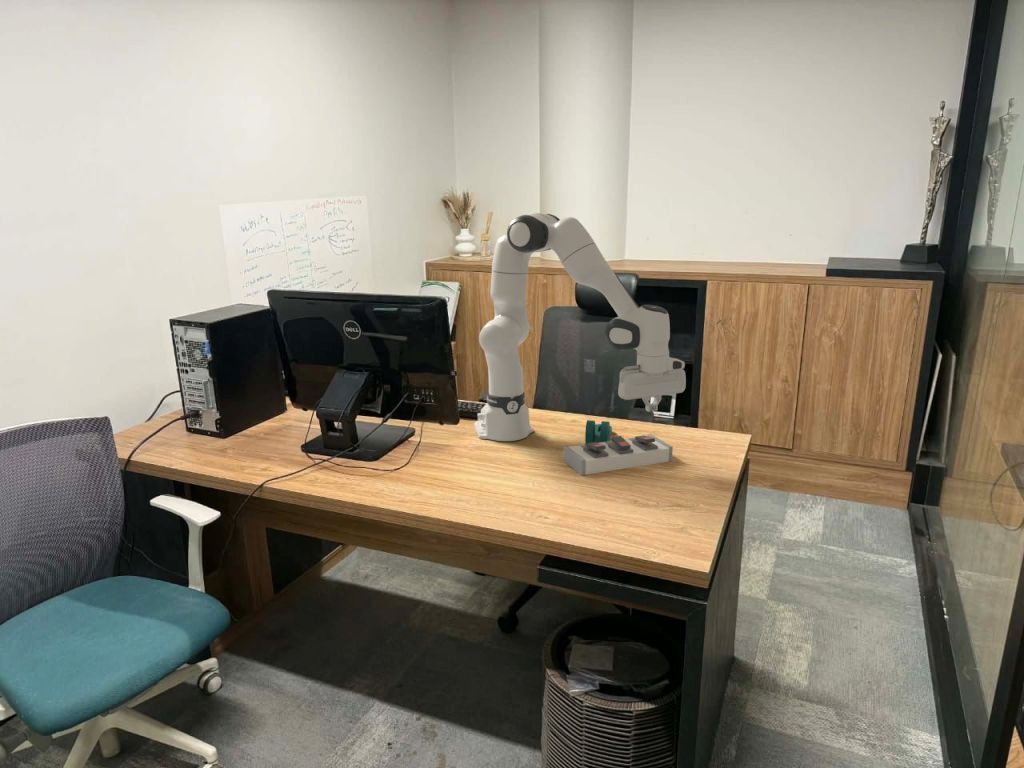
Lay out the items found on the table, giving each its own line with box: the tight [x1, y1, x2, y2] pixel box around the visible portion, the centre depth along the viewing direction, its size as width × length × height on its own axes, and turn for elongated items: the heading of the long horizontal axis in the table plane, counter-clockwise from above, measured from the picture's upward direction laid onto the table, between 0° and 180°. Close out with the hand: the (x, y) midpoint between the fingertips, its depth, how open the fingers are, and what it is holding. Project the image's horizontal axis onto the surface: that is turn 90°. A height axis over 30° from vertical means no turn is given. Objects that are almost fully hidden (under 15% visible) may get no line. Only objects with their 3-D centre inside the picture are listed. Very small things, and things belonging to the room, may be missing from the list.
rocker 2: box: [610, 435, 631, 450], centre depth 201 cm, size 6×3×1 cm, turn 21°
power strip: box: [563, 433, 674, 476], centre depth 203 cm, size 12×29×5 cm, turn 111°
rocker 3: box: [634, 435, 655, 443], centre depth 204 cm, size 6×3×1 cm, turn 21°
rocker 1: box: [586, 442, 606, 451], centre depth 198 cm, size 6×3×1 cm, turn 21°
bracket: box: [584, 419, 613, 445], centre depth 221 cm, size 18×7×8 cm, turn 167°
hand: (651, 410), depth 199 cm, fingers closed
